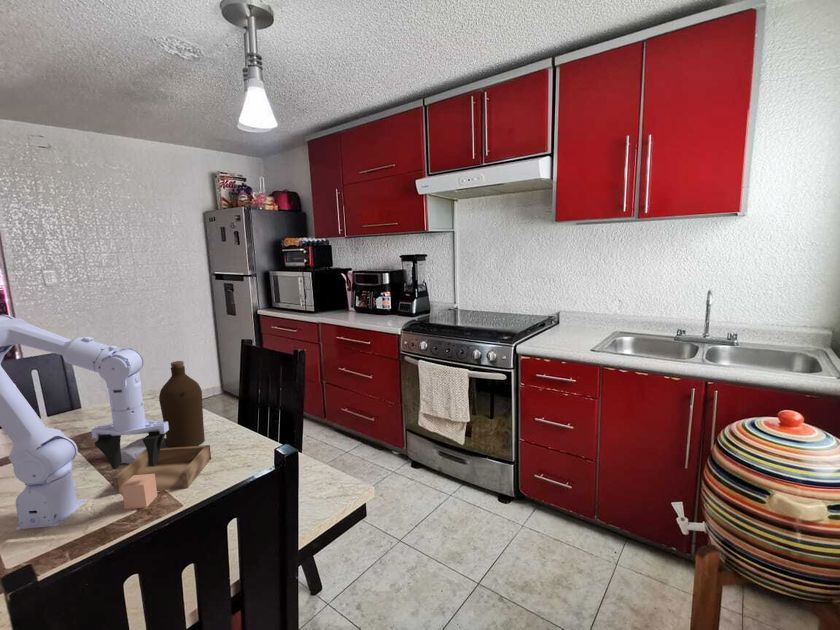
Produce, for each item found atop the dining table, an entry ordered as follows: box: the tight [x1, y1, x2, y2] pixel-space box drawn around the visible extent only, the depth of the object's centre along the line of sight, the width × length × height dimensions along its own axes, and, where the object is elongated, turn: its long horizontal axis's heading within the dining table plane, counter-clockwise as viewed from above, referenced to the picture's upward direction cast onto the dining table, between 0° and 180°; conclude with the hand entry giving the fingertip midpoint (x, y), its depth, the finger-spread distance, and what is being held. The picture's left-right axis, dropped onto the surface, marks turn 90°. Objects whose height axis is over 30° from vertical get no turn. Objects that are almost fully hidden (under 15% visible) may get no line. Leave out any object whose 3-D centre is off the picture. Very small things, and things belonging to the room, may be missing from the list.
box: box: [112, 444, 212, 495], centre depth 102 cm, size 14×16×4 cm
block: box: [121, 474, 158, 510], centre depth 91 cm, size 4×4×6 cm
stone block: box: [120, 437, 168, 465], centre depth 115 cm, size 12×5×10 cm
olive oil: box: [158, 360, 205, 448], centre depth 118 cm, size 11×11×25 cm
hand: (135, 465), depth 90 cm, fingers open, 7 cm apart
